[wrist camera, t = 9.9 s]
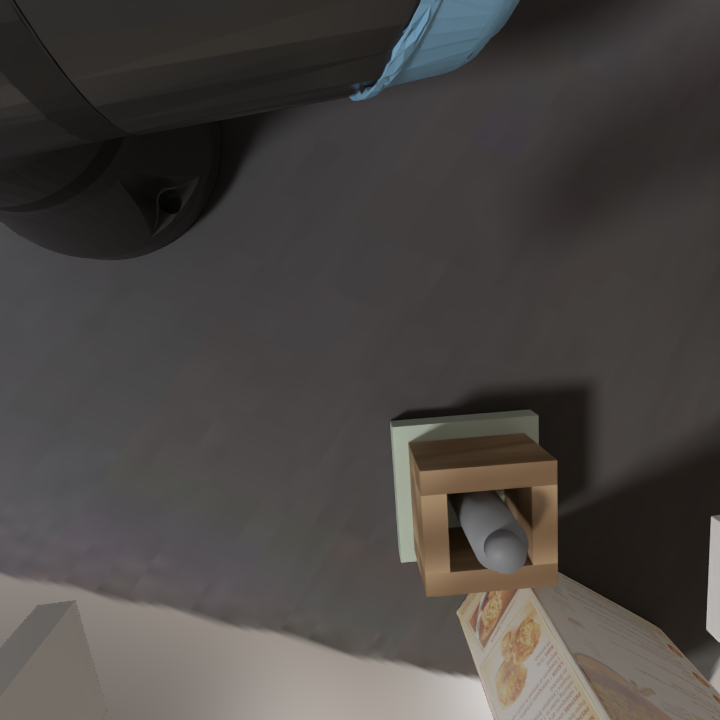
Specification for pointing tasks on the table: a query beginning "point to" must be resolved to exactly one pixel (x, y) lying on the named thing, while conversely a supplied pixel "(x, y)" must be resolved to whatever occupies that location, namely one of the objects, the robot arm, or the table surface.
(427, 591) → the collar
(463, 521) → the sage green base plate
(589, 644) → the coffeecake box
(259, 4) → the robot arm
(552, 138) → the table surface
